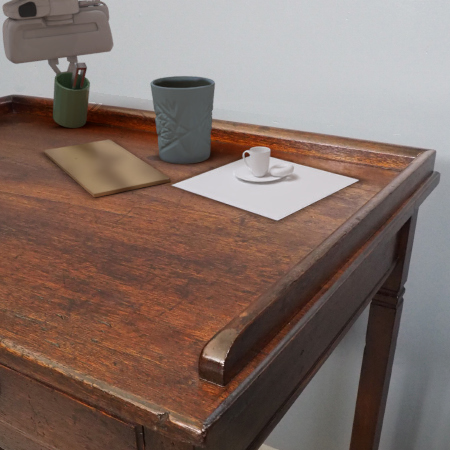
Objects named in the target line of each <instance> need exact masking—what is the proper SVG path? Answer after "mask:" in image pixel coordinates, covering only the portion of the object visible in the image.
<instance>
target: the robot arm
mask: <svg viewBox="0 0 450 450" xmlns="http://www.w3.org/2000/svg"><path fill="white" fill-rule="evenodd" d="M2 12H3V14H4V16H5V17H7V18H6V19H5V20H4V21H3V24H2V41H3V50H4V55H5V57H6V59H7V60H8V61H9V62H11V63H12V64H16V65H18V64H26V63H34V62H41V61H47V63H48V66H49V67H50V68H51V69H52V71H53V72H54V73H55V76H56V75H58V74H59V73H63V72H72V73H73V70H74V65H75V63H79V60H78V57H80V56H85V55H86V56H87V55H93V54H94V55H96V54H100V53H101V54H103V53H110V52H111V51H112V50H113V48H114V40H113V34H112V30H111V25H110V11H109V6H108V5H107V4H106V3H105V2H104V1H102V0H9V1H7V2H5V3H3V5H2ZM63 58H66V61H67V62H68V63H69V64H68V66H67V70H66V71H61V70H60V68H59V67H58V65H60V62H59V59H63Z"/></svg>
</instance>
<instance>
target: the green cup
mask: <svg viewBox="0 0 450 450" xmlns="http://www.w3.org/2000/svg"><path fill="white" fill-rule="evenodd" d="M62 72H63V73H59V74H58V75H56V74H55V75H54V83H53V104H52V119H53V121H54V122H55V124H58V125H59V126H62V127H64V128H69V129H77V128H81V127H83V126H84V125H86V123H87V121H88V120H87V119H88V109H89V99H90V89H91V88H90V87H91V81H90V80H89V79H88V78H87V77H86V76H85V79H84V83H83V87H82V89H80V90H77V85H78V81H79V76H80V73H78V77H77V82H76V86H75V90H73V89H70V84H71V79H72V75H73V73H72V72H65V71H62Z"/></svg>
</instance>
